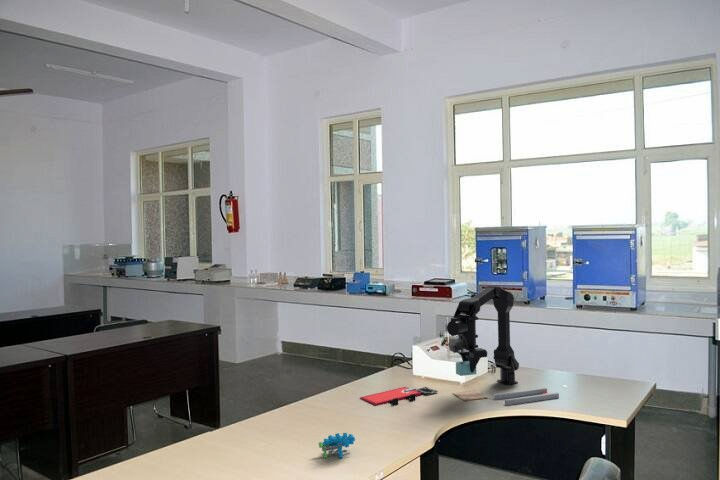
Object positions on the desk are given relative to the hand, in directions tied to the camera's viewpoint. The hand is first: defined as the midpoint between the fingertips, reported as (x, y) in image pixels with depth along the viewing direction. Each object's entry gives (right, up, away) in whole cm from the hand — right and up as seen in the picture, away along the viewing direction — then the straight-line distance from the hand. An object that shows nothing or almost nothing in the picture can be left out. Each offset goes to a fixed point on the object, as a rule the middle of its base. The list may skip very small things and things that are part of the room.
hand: (469, 370), depth 220 cm
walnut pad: (0, -10, 0) cm, 10 cm away
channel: (+22, -10, -4) cm, 24 cm away
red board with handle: (-27, -12, +2) cm, 30 cm away
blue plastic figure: (-51, -13, -54) cm, 75 cm away
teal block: (-1, -1, 0) cm, 2 cm away
